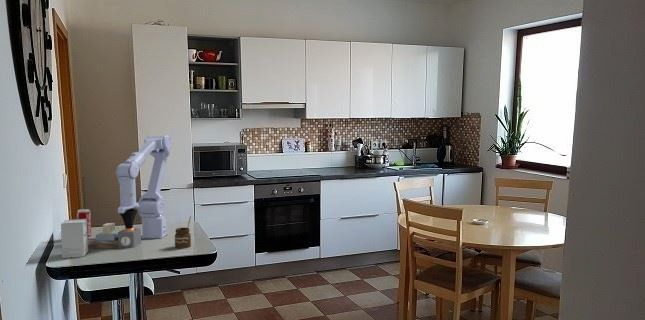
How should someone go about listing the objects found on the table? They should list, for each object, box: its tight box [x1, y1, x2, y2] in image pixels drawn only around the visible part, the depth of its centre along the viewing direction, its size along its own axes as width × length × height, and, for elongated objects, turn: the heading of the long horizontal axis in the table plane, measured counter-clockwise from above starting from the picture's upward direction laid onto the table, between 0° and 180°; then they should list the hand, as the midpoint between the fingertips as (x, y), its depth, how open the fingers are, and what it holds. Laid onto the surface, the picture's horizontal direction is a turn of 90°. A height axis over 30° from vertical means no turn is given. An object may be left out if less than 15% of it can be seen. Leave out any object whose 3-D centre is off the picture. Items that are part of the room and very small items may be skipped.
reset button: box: [123, 227, 135, 232], centre depth 181 cm, size 4×4×2 cm
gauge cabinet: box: [117, 227, 142, 249], centre depth 181 cm, size 6×8×6 cm
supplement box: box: [60, 218, 89, 259], centre depth 167 cm, size 7×7×13 cm
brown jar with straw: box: [173, 215, 192, 249], centre depth 178 cm, size 6×6×12 cm
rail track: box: [87, 232, 118, 249], centre depth 182 cm, size 17×8×4 cm, turn 90°
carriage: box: [95, 222, 120, 241], centre depth 181 cm, size 7×7×6 cm
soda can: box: [76, 208, 92, 238], centre depth 195 cm, size 5×5×12 cm
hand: (129, 228), depth 181 cm, fingers closed, pressing on reset button
